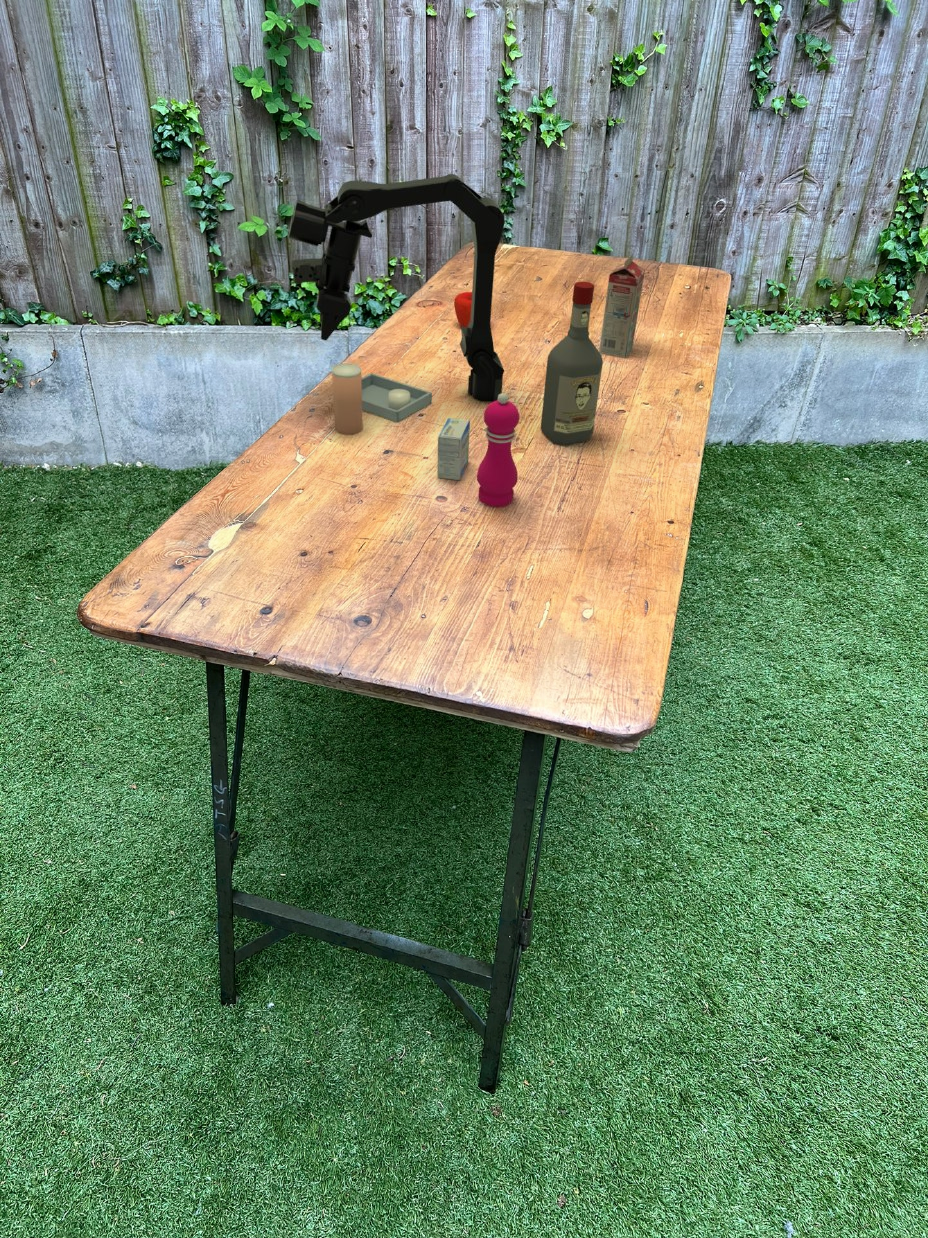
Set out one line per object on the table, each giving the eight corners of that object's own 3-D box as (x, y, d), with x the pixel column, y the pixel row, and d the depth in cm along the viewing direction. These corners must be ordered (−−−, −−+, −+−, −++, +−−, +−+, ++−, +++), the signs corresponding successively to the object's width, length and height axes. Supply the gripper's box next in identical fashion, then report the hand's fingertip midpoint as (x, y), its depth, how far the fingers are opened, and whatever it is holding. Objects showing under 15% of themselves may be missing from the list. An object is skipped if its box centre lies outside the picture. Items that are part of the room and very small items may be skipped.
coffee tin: (368, 430, 183) (367, 368, 175) (350, 441, 179) (348, 377, 171) (347, 423, 185) (344, 360, 177) (328, 432, 181) (325, 369, 173)
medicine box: (460, 481, 168) (462, 438, 163) (436, 478, 169) (437, 435, 164) (468, 461, 175) (470, 419, 169) (445, 458, 175) (447, 416, 170)
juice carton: (598, 353, 220) (611, 258, 207) (606, 343, 225) (619, 251, 211) (625, 358, 218) (640, 263, 205) (632, 348, 223) (647, 255, 210)
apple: (495, 325, 232) (497, 294, 227) (476, 335, 226) (478, 303, 221) (465, 317, 235) (466, 286, 231) (446, 327, 229) (447, 295, 225)
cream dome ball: (414, 406, 191) (414, 392, 189) (401, 413, 188) (401, 399, 186) (397, 400, 193) (397, 387, 191) (384, 407, 190) (384, 394, 188)
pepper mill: (473, 488, 167) (479, 384, 154) (513, 488, 167) (521, 384, 155) (477, 509, 161) (483, 402, 149) (518, 508, 162) (527, 403, 149)
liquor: (535, 428, 187) (550, 279, 168) (575, 422, 190) (593, 274, 171) (556, 448, 180) (574, 295, 162) (596, 441, 183) (618, 290, 165)
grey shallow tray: (431, 405, 193) (431, 392, 191) (397, 426, 185) (397, 412, 183) (371, 386, 200) (371, 372, 198) (336, 404, 192) (335, 391, 190)
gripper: (299, 227, 179) (283, 304, 188) (299, 256, 165) (282, 338, 173) (354, 243, 182) (336, 318, 191) (359, 273, 168) (339, 352, 177)
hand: (323, 330), depth 183 cm, fingers open, 9 cm apart
